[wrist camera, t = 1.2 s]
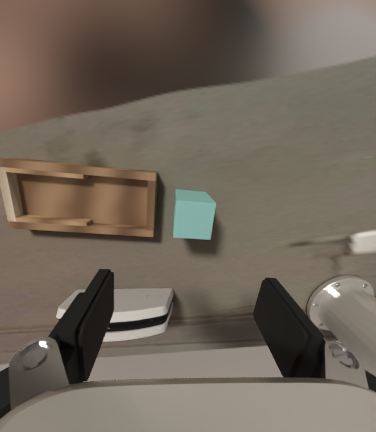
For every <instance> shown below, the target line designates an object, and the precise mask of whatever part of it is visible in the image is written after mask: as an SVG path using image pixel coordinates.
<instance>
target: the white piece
mask: <svg viewBox="0 0 376 432" xmlns="http://www.w3.org/2000/svg"><path fill="white" fill-rule="evenodd" d="M85 291H86V290H76V291H75V292H74V293H73V294H72V295H71V296H70V297H69V298H67V299H66V300H65V301H64V302H63V303H62V304H61V305H60V306H59V308H58V312H57V315H56V317H57V318H59V320H60V319H61V317H62V316H63V314H64V313H65V312H66V310H67V309H68V307H69V306H70V304H71V303H72V301H73V300H74V299H75V297H76V296H77V295H78V293H80V292H85ZM173 295H174V294H173V289H172V288H155V289H114V312H113V316H112V318H111V321H110V323H109V326H108V329H107V331H106V334H105V337H104V339H103V342H105V341H122V340H130V339H136V338H142V337H147V336H152V335H156V334H160V333H163V332H164V331H165V330H166V328H167V324H168V321H169V318H170V316H171V313H172V308H173V302H172V298H173Z"/></svg>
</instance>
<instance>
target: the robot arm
mask: <svg viewBox="0 0 376 432" xmlns="http://www.w3.org/2000/svg"><path fill="white" fill-rule="evenodd" d="M113 312H114V273H113V272H111V271H110V270H109V269H99V271H98V272H97V274H96V275H95V277H94V278H93V280H92V281H91V283H90V284H89V286H88V288H87V289H86V291H85V292H80V293H78V295H77V296H76V297H75V299H74V300H73V301H72V303H71V304H70V306H69V307H68V309H67V310H66V312H65V313H64V314H63V316H62V317H61V319H60V320H59V322H58V323H57V325H56V326H55V327H54V329H53V330H52V332H51V333H50V335H49V336H48V337H43V338H39V339H36V340H33V341H31V342H29V343H28V344H26V345H24V346H23V347H22V348H21V349H19V350H18V351H17V353H16V354H15V355H14V356H13V357H12V359H11V361H10V364H9V367H8V368H6V369H4V370H2V371H1V372H0V432H376V298H374V290H373V288H372V286H371V285H370V284H369V283H368V282H366V281H365V280H364V279H362V278H360V277H357V276H353V275H345V276H339V277H335V278H333V279H330V280H328V281H327V282H325V283H323V284H322V285H321V286H319V287H318V288H317V289H316V290H315V291H314V292H313V294H312V295H311V297H310V299H309V301H308V304H307V315H308V316H307V315H306V314H305V313H304V311H303V310H302V309H301V308H300V307H299V305H298V304H297V303H296V302H295V301H294V299H293V298H292V297H291V296H290V295H289V293H288V292H287V291H286V290H285V289H284V287H283V286H282V285H281V284H280V283H279V281H278V280H277V279H276V278H265V280H263V281H262V284H261V287H260V291H259V294H258V298H257V301H256V305H255V308H254V312H253V316H254V319H255V321H256V323H257V325H258V327H259V329H260V331H261V333H262V335H263V337H264V339H265V341H266V343H267V345H268V347H269V349H270V351H271V353H272V355H273V358H274V359H275V362H276V363H277V366H278V368H279V370H280V371H281V374H282V375H283V378H280V377H277V378H174V379H129V380H102V381H90V382H83V381H87V380H88V378H89V376H90V373H91V370H92V368H93V365H94V362H95V360H96V357H97V355H98V352H99V350H100V347H101V344H102V342H103V339H104V337H105V334H106V331H107V329H108V326H109V323H110V321H111V318H112V316H113ZM317 327H318V328H320V329H323V330H328V331H331V332H332V333H333V334H334V335H335V337H336V338H337V339H338V340H339V341H340V342H341V343H342V344H340V343H338V342H335V341H327V342H325V340H324V339H323V338H324V335H323V334H322V333H321V332H320V331H319V329H318V328H317Z"/></svg>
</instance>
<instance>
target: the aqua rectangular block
mask: <svg viewBox="0 0 376 432" xmlns="http://www.w3.org/2000/svg"><path fill="white" fill-rule="evenodd" d="M215 207H216V203H215V202H214V201H213V199H212V198H211V197H210V196H209V195H208V194H207V193H206V192H200V191H189V190H178V189H176V193H175V206H174V219H173V237H175V238H190V239H206V240H211V233H212V226H213V220H214V213H215Z"/></svg>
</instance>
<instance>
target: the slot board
mask: <svg viewBox="0 0 376 432" xmlns="http://www.w3.org/2000/svg"><path fill="white" fill-rule="evenodd" d="M157 175H158V172H154V171H143V170H133V169H123V168H112V167H102V166H92V165H81V164H71V163H61V162H51V161H40V160H30V159H20V158H0V187H1V191H2V196H3V200H4V205H5V210H6V214H7V219H8V223H9V228H15V229H31V230H47V231H63V232H79V233H95V234H111V235H127V236H143V237H153V236H154V232H155V217H156V196H157Z"/></svg>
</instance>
